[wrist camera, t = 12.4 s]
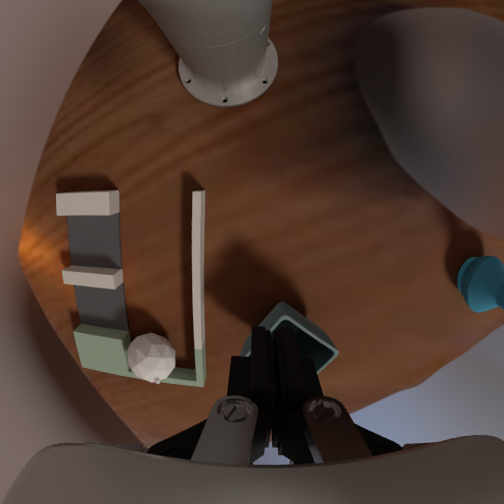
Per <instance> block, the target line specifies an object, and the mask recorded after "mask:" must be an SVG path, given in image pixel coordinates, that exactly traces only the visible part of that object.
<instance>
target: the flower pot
mask: <svg viewBox="0 0 504 504" xmlns="http://www.w3.org/2000/svg"><path fill="white" fill-rule="evenodd" d="M258 326H264V327H265V328H266V330H271V340H272V348H273V338H274V330H279V328H280V327H293V328H294V332H295V336H296V340H297V345H298V349H299V353H300V357H301V358H312V359H313V362H314V365H315V368H316V372H317V374H318V373H319V372H320V371H321V370H322V369H323V368H325V367H326V365H328V364H329V363H330V362H331V361H332V360H333V359H334V358H335V357H336V356H337V355H338V353H339V351H338V350H337V348H336V347H335V345H334V344H333V342H332V341H331V339H330V338H329V337H328V335H327V334H326V333H325V332H324V331H323V330H322V329H321V328H320V327H319V326H317V325H316V324H314V323H313V322H311V321H310V320H309V319H307V318H306V317H304V316H303V315H302V314H300V313H299V312H297V311H296V310H295V309H293V308H292V307H291V306H289V305H288V304H287V303H285V302H283V301H280V302H279V303H278V304H277V305H276V306H275V307H274V308H273V310H272V311H271V312H270V313H269V314H268V315H267V316H266V317H265V319H264V320H263V321H262V322H261V323H260V324H259V325H258ZM251 335H252V333H251V334H250V335H249V336H248V338H247V339H246V341H245V342H244V345H243V348H242V351H241V354H240V356H246V357H250V353H251Z"/></svg>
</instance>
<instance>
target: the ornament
mask: <svg viewBox="0 0 504 504" xmlns="http://www.w3.org/2000/svg"><path fill="white" fill-rule="evenodd" d="M128 365H129V366H130V368H131V370H132V371H133V372H134V374H135V375H136V376H137V377H139V378H142V379H144V380H147V381H149V382H156V384H159V383H160V380H162V379H166V378H167V377H168V375H169V374H170V373H171V371H172V370H173V369H174V367H175V350H174V349H173V347H172V346H171V344H170V343H169V342H168V340H167V339H166V338H165V337H162V336H159V335H157V334H154V333H148V334H144V335H141V336H137V337H136V338H135V339H134V340H133V341H132V342H131V344H130V346H129V348H128Z"/></svg>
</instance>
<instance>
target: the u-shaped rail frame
mask: <svg viewBox="0 0 504 504" xmlns="http://www.w3.org/2000/svg"><path fill="white" fill-rule="evenodd" d="M56 206H57V215H67V220H68V235H69V247H70V257H71V266H69V267H67V268H66V269H64V270H62V274H63V281H64V284H72V285H74V288H75V294H76V300H77V306H78V311H79V316H80V322H81V324H80V325H79V326H78V327H77V328H76V329H75V330H74V331H73V333H74V337H75V341H76V345H77V349H78V353H79V357H80V360H81V364H82V367H85V368H89V369H93V370H98V371H102V372H107V373H112V374H117V375H122V376H127V377H133V378H139V377H137V376H136V375H135V374H134V372H133V371H132V370H131V368H130V366H129V365H128V348H129V346H130V344H131V339H130V332H129V326H128V318H127V311H126V303H125V294H124V284H123V273H122V261H121V245H120V222H119V190H109V191H80V192H65V193H59V194H56ZM204 219H205V190H197V191H193V198H192V292H193V323H194V346H195V363H196V369H187V368H178V367H174V369H173V370H172V371H171V373H170V374H169V375H168V377H167V378H166V379H162V380H160V382H165V383H172V384H181V385H189V386H199V387H204V383H205V378H206V356H205V321H204ZM139 379H142V378H139Z"/></svg>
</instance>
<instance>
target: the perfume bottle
mask: <svg viewBox="0 0 504 504" xmlns="http://www.w3.org/2000/svg"><path fill="white" fill-rule="evenodd" d="M457 285H458V289H459V291H460V292H461V293H462V295H463V297H464V299H465V301H466V303H467V305H468V306H469V307H470V308H471V309H472V310H473V311H475V312H484V311H487V310H490V309H492V308H495V307H498V306H499V307H501V308H502V309H504V266H503V264H502V262H501V261H500V259H498V258H496V257H493V256H483V257H471V258H469V259H468V260H466V261H465V262H464V264H463V265H462V267H461V268H460V271H459V274H458V278H457Z"/></svg>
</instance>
